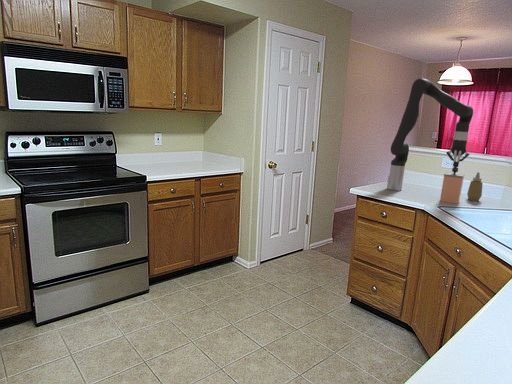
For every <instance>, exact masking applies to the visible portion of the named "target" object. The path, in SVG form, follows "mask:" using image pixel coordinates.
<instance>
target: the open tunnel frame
mask: <svg viewBox="0 0 512 384" xmlns="http://www.w3.org/2000/svg"><path fill="white" fill-rule="evenodd" d="M464 178H465V176H464V177H463V178H461V177H453V176H445V175H444V174H443V180H442V186H441V193H440V197H439V198H440V199H439V202H443V203H449V204H450V203H451V204H456V205H459V203H460V201H461V195H462V189H463V183H464Z"/></svg>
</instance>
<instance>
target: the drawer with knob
mask: <svg viewBox="0 0 512 384" xmlns="http://www.w3.org/2000/svg"><path fill="white" fill-rule="evenodd" d="M458 172H459V167H457V168H454V167H453V166H452V169H451V172H450V171H449V172H447V171H445V173H443V176H444V175H445V176H453V177H461V178H463V177H464V178H465V174H464V173H458Z"/></svg>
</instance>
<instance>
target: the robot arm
mask: <svg viewBox="0 0 512 384" xmlns="http://www.w3.org/2000/svg"><path fill="white" fill-rule="evenodd" d="M423 95H426V96H429V97H431V98H433V99H434V100H435V101H436V102H437V103H438V104H440V105H441V106H442V107H444V108H445V109H448V110H449V111H450V112H452V113H453V114H455V115H456V116H458V117H459V119H458V121H457V122H456V124H455V130H454V135H453V137H452V138H453V139H452V144H451V148H450V150H448V151H446V154H447V156H448V158H449V160H450V161H452V162H453V163H452V168H453V167H454V168H459V165H460V162H463V161H464V160H465V159H466V158H467V157H469V156H470V153H469V152H468V151H467V144H468V139H469V130H470V124H471V121H472V118H473V116H474V108H473V106H471V105H468V104H467V105H466V104H464V103H462V102H461V101H460V100H458V99H457V98H456V97H455V96H452V95H450V94H449V93H446V92H445V91H443V90H442V89H440V88H439V87H437V86H436V84H434V83H433V82H431V81H430V80H429V79H427V78H422V77H421V78H419V77H418V78H417V79H415V80H414V82H413V83H412V85H411V89H410V93H409V98H408V101H407V104H406V106H405V110H404V112H403V114H402V118H401V119H400V120H401V121H400V123H399V127H398V129H397V131H396V135H395V137H394V139H393V141H392V143H391V145H390V153H391V154H392V155H393V156H395V157H394V158H392V159H391V161H390V168H389V175H388V177H387V183H386V185H387V186H386V189H387V190H391V191H398V192H399V191H402V190H403V182H404V175H405V168H406V163H407V161H408V158H409V157H408V156H409V150H410V147H409V144H408V142H406V138H407V136H408V135H409V134H410V133H411V131H412V130H413V129H414V127H416V123H417V121H418V118H419V116H420V115H419V114H420V102H421V99H422V97H423ZM452 155H453V156H452ZM461 157H462V158H461Z"/></svg>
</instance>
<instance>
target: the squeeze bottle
mask: <svg viewBox="0 0 512 384" xmlns="http://www.w3.org/2000/svg"><path fill="white" fill-rule="evenodd" d="M480 175H481V174H480V172H476V175H475V177H473V178H472V180H471V181H470V183H469V187H468V190H467V193H466V195H467V199H468V200H469V201H472V202H478V201H479V200H481V198H482V196H483V182H482V178H481V177H480ZM479 202H480V201H479Z"/></svg>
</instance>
